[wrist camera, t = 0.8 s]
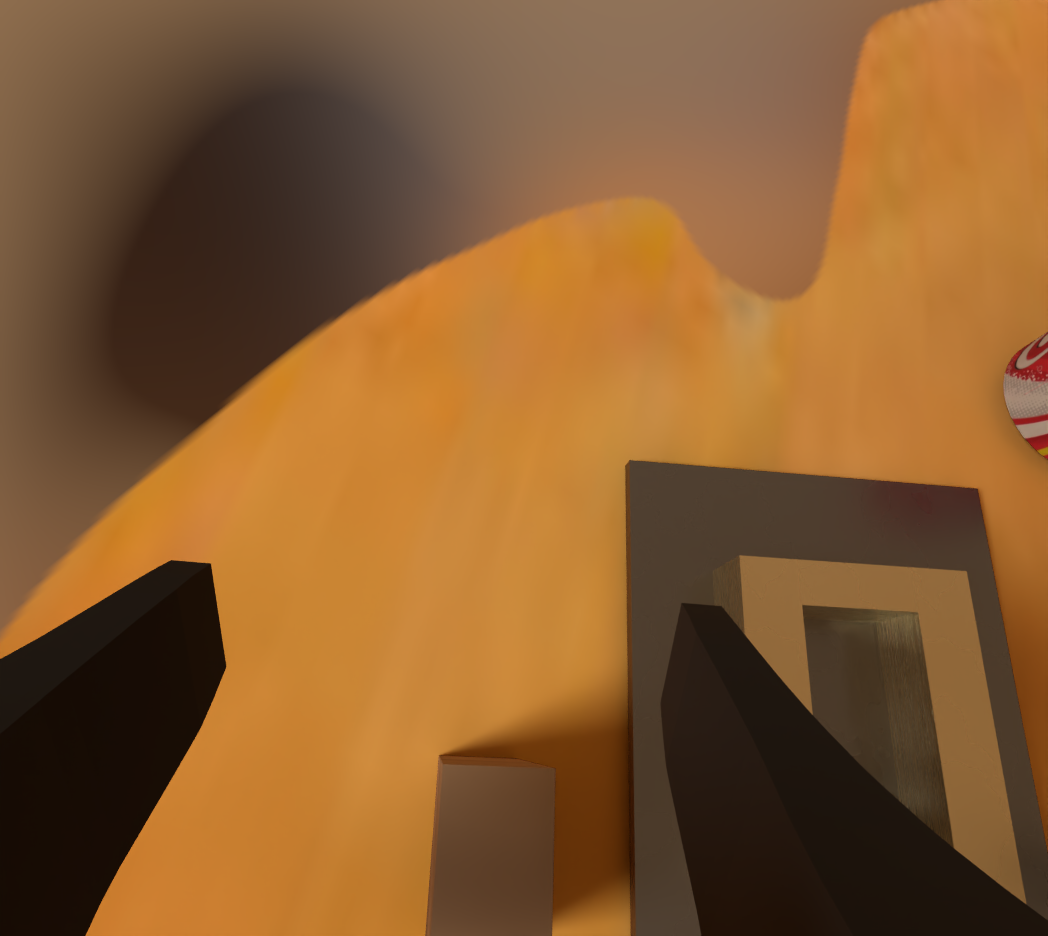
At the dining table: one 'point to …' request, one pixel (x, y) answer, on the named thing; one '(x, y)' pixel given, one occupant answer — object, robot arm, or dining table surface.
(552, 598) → the dining table surface
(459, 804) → the thick wooden plank
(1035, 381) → the beverage can
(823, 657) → the grey framed slot plate
